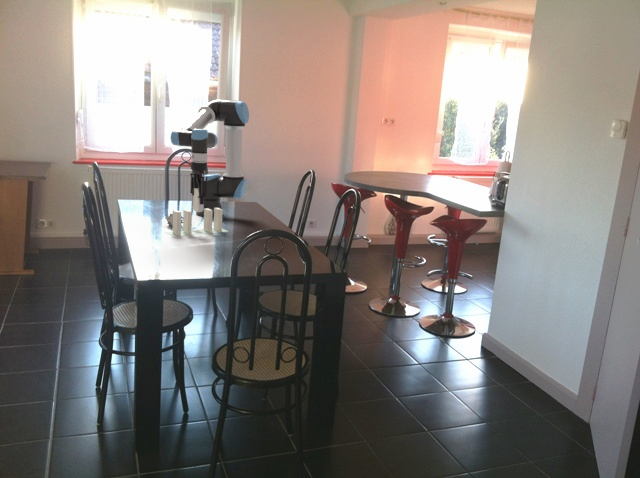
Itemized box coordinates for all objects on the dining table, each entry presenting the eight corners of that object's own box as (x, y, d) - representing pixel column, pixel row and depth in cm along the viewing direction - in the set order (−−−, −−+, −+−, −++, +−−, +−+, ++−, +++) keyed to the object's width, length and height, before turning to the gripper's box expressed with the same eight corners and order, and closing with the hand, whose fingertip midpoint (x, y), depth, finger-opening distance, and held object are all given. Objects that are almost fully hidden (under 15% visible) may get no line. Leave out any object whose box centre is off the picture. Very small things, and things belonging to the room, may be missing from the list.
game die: (172, 236, 298) (163, 222, 291) (169, 226, 304) (160, 213, 298) (188, 227, 299) (180, 213, 293) (184, 218, 306) (176, 204, 299)
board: (220, 229, 303) (220, 227, 302) (229, 233, 296) (229, 231, 296) (164, 234, 285) (164, 232, 284) (172, 238, 278) (172, 236, 277)
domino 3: (197, 210, 290) (198, 187, 288) (202, 212, 286) (202, 189, 284) (193, 210, 289) (194, 188, 286) (198, 212, 285) (198, 189, 283)
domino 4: (207, 229, 296) (207, 208, 293) (212, 232, 292) (212, 210, 290) (203, 230, 295) (204, 208, 292) (208, 232, 291) (208, 210, 288)
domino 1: (176, 232, 286) (176, 210, 283) (180, 234, 282) (181, 212, 280) (172, 232, 285) (172, 210, 282) (176, 235, 281) (177, 212, 278)
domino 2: (186, 231, 289) (187, 209, 287) (191, 233, 285) (191, 211, 283) (183, 231, 288) (183, 209, 285) (187, 234, 284) (188, 211, 282)
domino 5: (217, 229, 299) (217, 207, 297) (221, 231, 295) (222, 209, 293) (213, 229, 298) (214, 207, 295) (218, 231, 294) (218, 209, 292)
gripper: (183, 159, 287) (182, 206, 292) (200, 164, 273) (199, 213, 278) (197, 159, 291) (196, 206, 296) (215, 164, 278) (213, 212, 283)
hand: (198, 209), depth 287 cm, fingers closed on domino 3, 5 cm apart
